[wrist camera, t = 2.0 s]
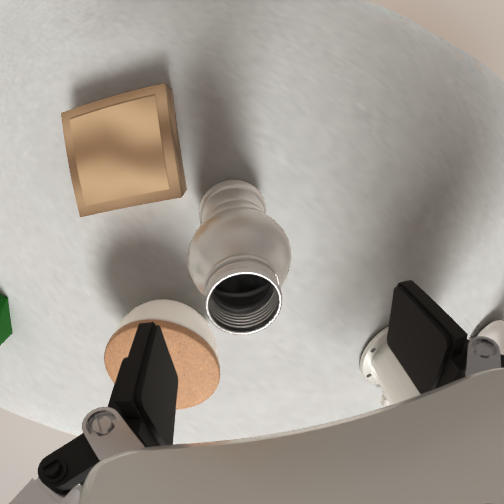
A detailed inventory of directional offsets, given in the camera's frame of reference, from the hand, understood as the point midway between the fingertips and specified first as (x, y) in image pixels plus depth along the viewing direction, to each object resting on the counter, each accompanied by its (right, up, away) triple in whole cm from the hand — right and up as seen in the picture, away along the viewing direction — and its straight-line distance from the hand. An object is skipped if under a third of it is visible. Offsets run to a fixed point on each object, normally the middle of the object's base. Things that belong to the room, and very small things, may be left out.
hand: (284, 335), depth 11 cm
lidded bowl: (-12, -6, +27) cm, 30 cm away
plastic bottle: (-3, +8, +22) cm, 23 cm away
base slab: (-14, +14, +18) cm, 27 cm away
